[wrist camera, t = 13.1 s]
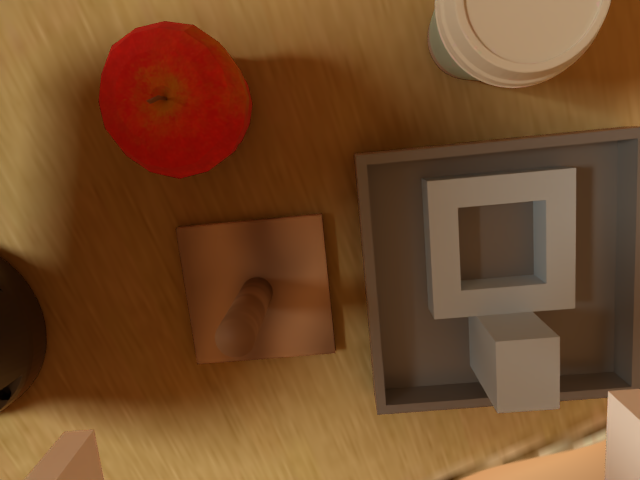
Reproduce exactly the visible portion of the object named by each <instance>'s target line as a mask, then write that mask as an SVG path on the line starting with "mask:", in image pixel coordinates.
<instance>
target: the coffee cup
mask: <svg viewBox="0 0 640 480" xmlns="http://www.w3.org/2000/svg"><path fill="white" fill-rule="evenodd" d="M610 4H611V0H435V9H434V12H433V15H432V18H431V22H430V25H429V30H428V47H429V51H430V54H431V56H432V58H433V60H434V62H435V63H436V64H437V66H438V67H439V68H440V69H441V70H442V71H444V72H445V73H447V74H448V75H450V76H452V77H455V78H459V79H467V80H479V81H482V82H484V83H487V84H490V85H494V86H498V87H505V88H520V87H528V86H532V85H536V84H539V83H542V82H545V81H547V80H549V79H551V78H553V77H555V76H557V75H558V74H560V73H561V72H563V71H564V70H566V69H567V68H568V67H569V66H571V65H572V64H573V63H575V62H576V61H577V60H578V59H579V58H580V57H581V56H582V55H583V54H584V53H585V51H586V50H587V49H588V48H589V46H590V45H591V44H592V42H593V41H594V39H595V38H596V36H597V34H598V32H599V30H600V28H601V26H602V24H603V22H604V20H605V18H606V15H607V13H608V10H609V7H610Z"/></svg>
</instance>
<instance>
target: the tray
mask: <svg viewBox="0 0 640 480" xmlns="http://www.w3.org/2000/svg"><path fill="white" fill-rule="evenodd" d="M354 160H355V172H356V184H357V195H358V207H359V219H360V231H361V242H362V254H363V266H364V277H365V289H366V301H367V313H368V324H369V336H370V348H371V360H372V371H373V383H374V395H375V401H376V408H377V415H380V414H394V413H407V412H421V411H434V410H447V409H461V408H474V407H488V406H493V405H492V403H491V401H490V399H489V398H488V396H487V394H486V392H485V391H484V389H483V387H482V385H481V384H480V382H479V380H478V378H477V377H476V375H475V373H474V371H473V370H472V368H471V366H470V350H469V323H468V317H459V318H446V319H434V318H433V316H432V314H431V312H430V310H429V308H428V291H427V272H426V254H425V236H424V217H423V199H422V181H421V178H430V177H441V176H452V175H463V174H474V173H485V172H495V171H506V170H517V169H528V168H539V167H550V166H567V167H574V168H576V267H575V308H573V309H561V310H548V311H535V312H533V313H534V314H536V315H537V316H538V317H539V318H540V319H541V320H542V321H543V322H544V323H545V324H546V325H548V326H549V327H550V328H551V329H552V330H553V331H554V332H555V333H556V334H557V335H558V336H559V337H560V401H568V400H582V399H595V398H608V391H615V390H629V389H640V127H616V128H606V129H596V130H586V131H576V132H566V133H556V134H546V135H536V136H526V137H516V138H506V139H496V140H486V141H475V142H465V143H455V144H445V145H435V146H425V147H415V148H405V149H395V150H385V151H375V152H365V153H355V154H354ZM458 226H459V251H460V275H461V281H462V280H474V279H486V278H498V277H510V276H522V275H534V242H533V201H528V202H517V203H506V204H495V205H483V206H472V207H461V208H458Z"/></svg>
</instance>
